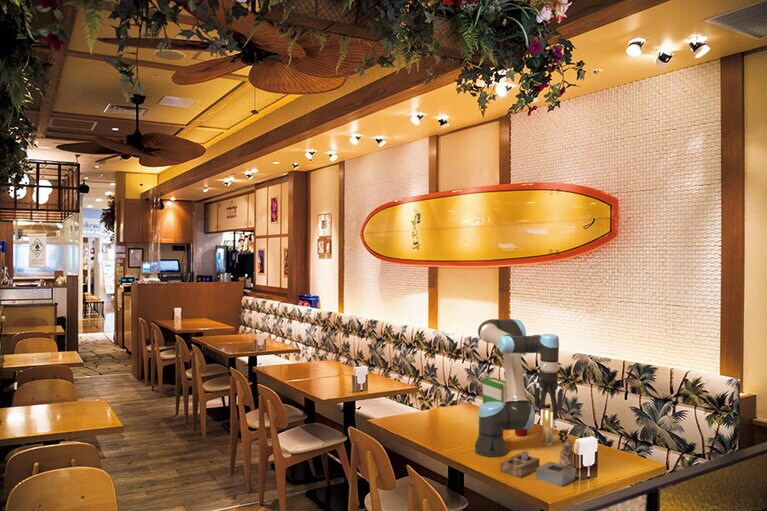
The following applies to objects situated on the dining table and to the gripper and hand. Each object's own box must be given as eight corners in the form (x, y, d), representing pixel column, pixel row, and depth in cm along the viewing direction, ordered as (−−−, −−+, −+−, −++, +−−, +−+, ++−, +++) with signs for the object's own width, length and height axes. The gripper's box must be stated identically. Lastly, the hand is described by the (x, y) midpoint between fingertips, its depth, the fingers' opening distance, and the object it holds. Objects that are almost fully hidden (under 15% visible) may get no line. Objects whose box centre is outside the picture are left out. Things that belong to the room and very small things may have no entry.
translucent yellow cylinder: (541, 442, 254) (541, 409, 254) (545, 439, 257) (546, 407, 257) (549, 444, 251) (550, 411, 251) (553, 442, 254) (554, 409, 254)
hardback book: (511, 426, 329) (512, 383, 330) (500, 428, 326) (501, 384, 326) (492, 418, 345) (493, 377, 346) (482, 420, 342) (483, 378, 342)
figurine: (557, 468, 265) (557, 441, 265) (561, 463, 271) (562, 437, 271) (573, 471, 262) (574, 444, 262) (577, 466, 268) (578, 440, 268)
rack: (500, 472, 259) (500, 456, 259) (519, 463, 271) (519, 447, 271) (520, 478, 252) (521, 461, 252) (539, 468, 264) (539, 453, 264)
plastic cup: (505, 433, 317) (506, 411, 317) (521, 431, 322) (522, 408, 322) (519, 439, 307) (519, 416, 307) (535, 436, 312) (535, 413, 312)
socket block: (536, 478, 252) (536, 468, 252) (549, 471, 260) (549, 461, 260) (562, 486, 243) (562, 475, 244) (575, 479, 252) (575, 468, 252)
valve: (548, 447, 295) (568, 444, 300) (549, 433, 295) (568, 431, 300) (540, 443, 301) (559, 440, 306) (540, 430, 301) (559, 427, 306)
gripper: (526, 369, 256) (525, 423, 257) (564, 375, 245) (562, 431, 245) (534, 366, 262) (533, 419, 262) (571, 372, 251) (570, 427, 251)
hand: (547, 425), depth 254 cm, fingers closed on translucent yellow cylinder, 4 cm apart
